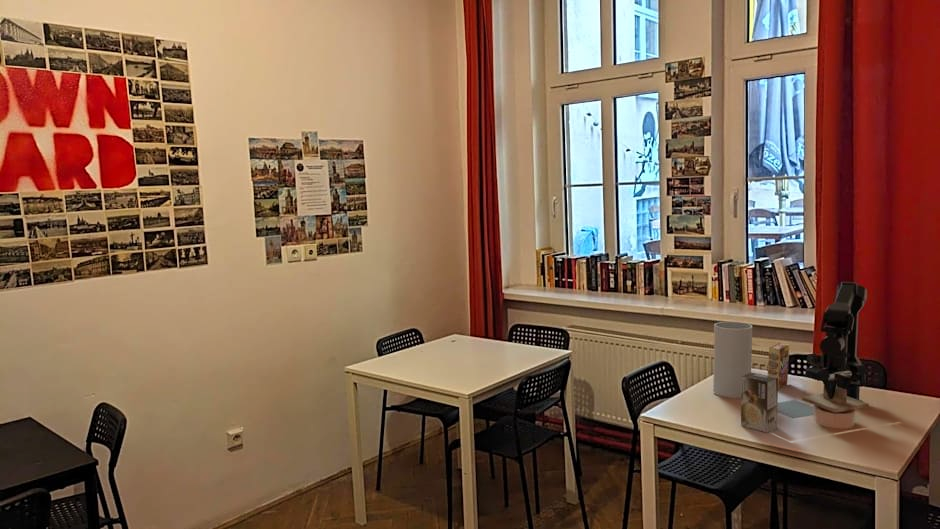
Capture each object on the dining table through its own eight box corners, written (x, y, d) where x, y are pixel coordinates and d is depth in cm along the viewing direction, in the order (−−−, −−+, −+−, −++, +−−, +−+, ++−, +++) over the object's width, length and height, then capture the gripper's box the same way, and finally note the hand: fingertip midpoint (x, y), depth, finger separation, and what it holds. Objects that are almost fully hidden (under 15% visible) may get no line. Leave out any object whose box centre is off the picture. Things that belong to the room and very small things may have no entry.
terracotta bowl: (833, 415, 228) (834, 400, 227) (862, 426, 217) (862, 411, 217) (806, 420, 224) (806, 405, 224) (834, 431, 214) (834, 415, 213)
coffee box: (778, 428, 218) (779, 377, 216) (767, 433, 214) (768, 381, 212) (750, 420, 225) (751, 371, 223) (739, 425, 221) (740, 375, 219)
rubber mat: (795, 401, 243) (795, 399, 243) (827, 413, 229) (827, 412, 229) (761, 406, 238) (761, 405, 238) (792, 419, 225) (792, 418, 225)
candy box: (778, 390, 255) (779, 348, 253) (766, 387, 258) (767, 347, 256) (788, 384, 261) (789, 344, 260) (776, 382, 264) (777, 342, 263)
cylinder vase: (707, 395, 252) (708, 326, 249) (721, 386, 261) (722, 320, 258) (743, 401, 244) (744, 330, 241) (755, 392, 253) (757, 324, 250)
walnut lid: (834, 394, 228) (834, 379, 228) (868, 406, 216) (869, 391, 215) (801, 399, 224) (802, 384, 224) (834, 412, 212) (835, 396, 211)
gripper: (839, 340, 228) (837, 387, 230) (792, 346, 223) (791, 394, 225) (868, 348, 218) (866, 397, 220) (820, 354, 212) (818, 404, 214)
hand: (834, 398), depth 220 cm, fingers closed on walnut lid, 3 cm apart
